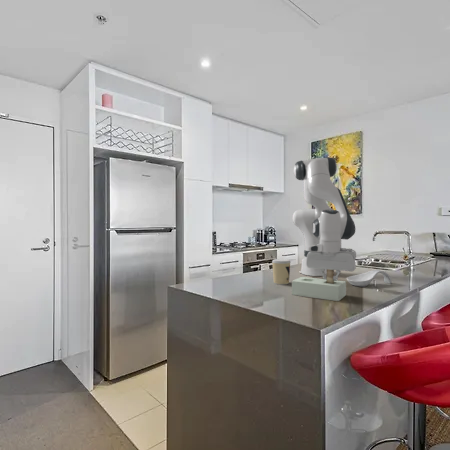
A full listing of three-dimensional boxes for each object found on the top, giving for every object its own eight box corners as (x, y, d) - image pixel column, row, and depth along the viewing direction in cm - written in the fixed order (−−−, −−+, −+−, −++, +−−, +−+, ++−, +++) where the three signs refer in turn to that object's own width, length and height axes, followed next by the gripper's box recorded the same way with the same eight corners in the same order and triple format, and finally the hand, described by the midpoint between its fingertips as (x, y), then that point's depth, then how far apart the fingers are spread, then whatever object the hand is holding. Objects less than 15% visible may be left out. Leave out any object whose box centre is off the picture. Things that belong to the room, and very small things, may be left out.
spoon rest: (357, 289, 149) (357, 274, 149) (341, 284, 160) (341, 270, 160) (397, 285, 156) (397, 271, 155) (379, 281, 167) (379, 267, 167)
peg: (327, 287, 136) (327, 264, 136) (334, 288, 134) (334, 264, 134) (325, 288, 134) (325, 265, 133) (332, 289, 132) (332, 265, 132)
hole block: (301, 289, 148) (301, 276, 148) (345, 295, 136) (345, 281, 136) (291, 294, 138) (291, 281, 138) (338, 301, 126) (338, 286, 126)
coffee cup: (290, 285, 157) (290, 261, 156) (271, 284, 159) (271, 261, 158) (290, 281, 166) (290, 259, 166) (272, 281, 168) (272, 258, 167)
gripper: (357, 248, 130) (357, 281, 131) (309, 246, 142) (309, 276, 142) (354, 249, 125) (354, 284, 126) (304, 247, 137) (304, 278, 137)
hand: (330, 279), depth 134 cm, fingers closed on peg, 3 cm apart
